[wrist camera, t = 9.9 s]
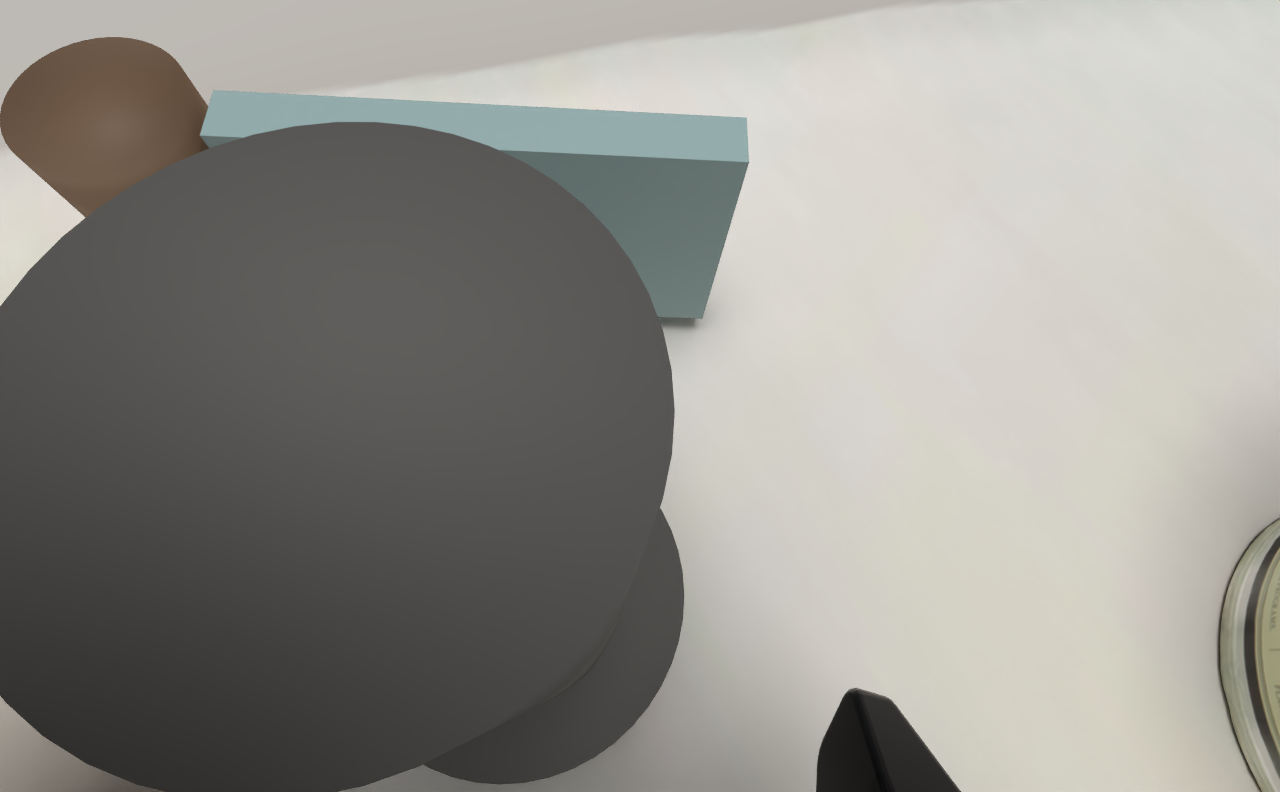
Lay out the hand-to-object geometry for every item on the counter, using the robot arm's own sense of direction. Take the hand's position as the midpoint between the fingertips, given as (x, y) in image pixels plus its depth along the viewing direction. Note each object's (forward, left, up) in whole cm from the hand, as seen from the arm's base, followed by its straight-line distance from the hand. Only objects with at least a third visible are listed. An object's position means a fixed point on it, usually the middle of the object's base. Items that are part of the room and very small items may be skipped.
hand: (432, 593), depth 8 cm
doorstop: (+1, 0, -9) cm, 9 cm away
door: (+8, +3, -8) cm, 12 cm away
